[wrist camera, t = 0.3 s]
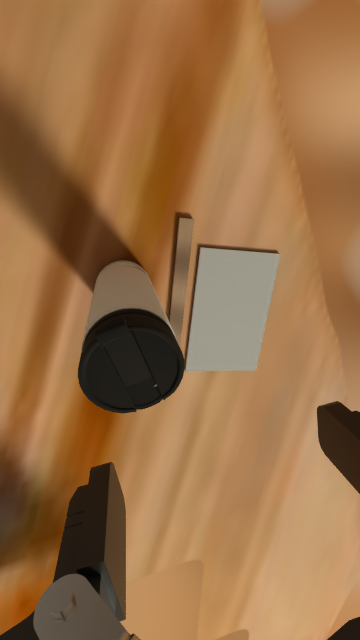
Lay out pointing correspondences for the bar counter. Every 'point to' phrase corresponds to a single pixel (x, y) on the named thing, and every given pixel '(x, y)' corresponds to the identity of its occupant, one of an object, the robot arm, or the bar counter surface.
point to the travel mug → (128, 343)
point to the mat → (230, 309)
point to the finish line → (180, 275)
